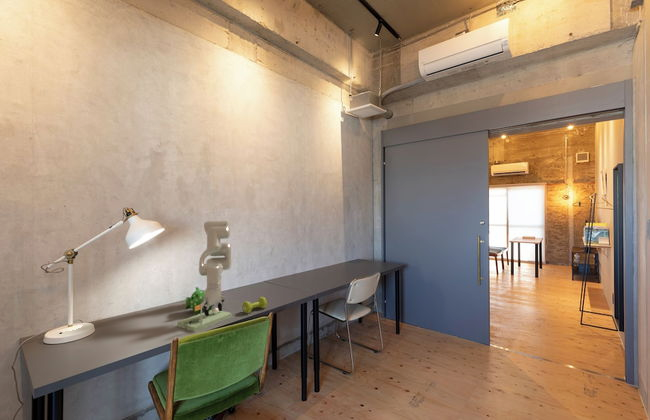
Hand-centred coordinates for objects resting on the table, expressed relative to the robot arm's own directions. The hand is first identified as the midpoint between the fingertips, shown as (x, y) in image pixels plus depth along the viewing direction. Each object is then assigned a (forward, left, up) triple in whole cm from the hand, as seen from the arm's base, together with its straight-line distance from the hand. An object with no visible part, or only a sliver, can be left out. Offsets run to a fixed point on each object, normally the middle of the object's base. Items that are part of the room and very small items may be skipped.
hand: (213, 313), depth 183 cm
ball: (0, +1, +1) cm, 2 cm away
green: (0, -6, -3) cm, 7 cm away
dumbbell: (+11, +24, -4) cm, 27 cm away
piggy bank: (-18, +4, -4) cm, 19 cm away
